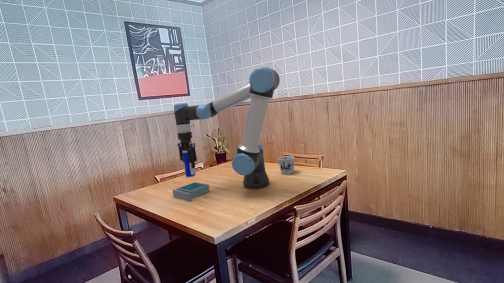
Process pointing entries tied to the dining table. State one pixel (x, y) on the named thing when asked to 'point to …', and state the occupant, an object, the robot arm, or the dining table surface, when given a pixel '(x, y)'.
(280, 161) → the mug
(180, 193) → the block
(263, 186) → the robot arm
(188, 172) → the beverage can
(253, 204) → the dining table surface
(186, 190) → the teal open drawer
